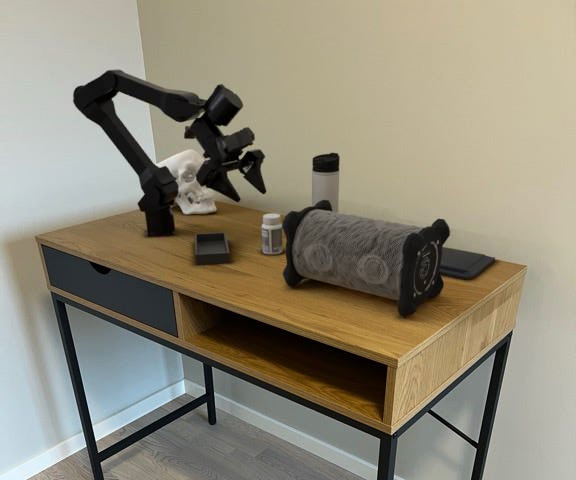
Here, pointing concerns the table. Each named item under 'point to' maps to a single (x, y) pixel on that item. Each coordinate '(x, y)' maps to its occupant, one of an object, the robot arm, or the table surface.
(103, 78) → the robot arm
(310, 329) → the table surface
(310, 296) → the table surface
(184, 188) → the white skull model
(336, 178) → the travel mug
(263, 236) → the pill bottle
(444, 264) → the wallet
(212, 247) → the pen tray
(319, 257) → the speaker
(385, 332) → the table surface
